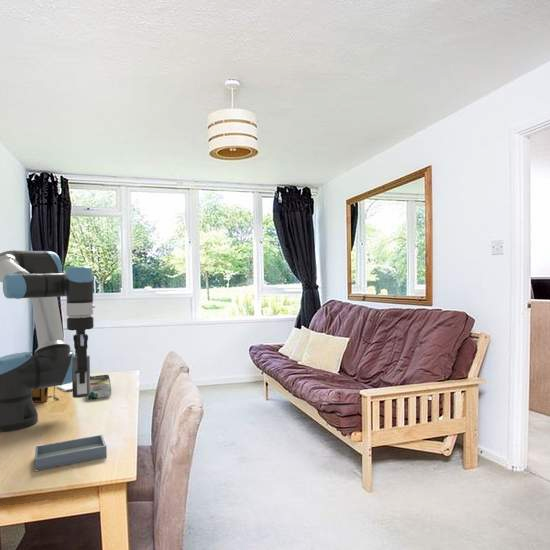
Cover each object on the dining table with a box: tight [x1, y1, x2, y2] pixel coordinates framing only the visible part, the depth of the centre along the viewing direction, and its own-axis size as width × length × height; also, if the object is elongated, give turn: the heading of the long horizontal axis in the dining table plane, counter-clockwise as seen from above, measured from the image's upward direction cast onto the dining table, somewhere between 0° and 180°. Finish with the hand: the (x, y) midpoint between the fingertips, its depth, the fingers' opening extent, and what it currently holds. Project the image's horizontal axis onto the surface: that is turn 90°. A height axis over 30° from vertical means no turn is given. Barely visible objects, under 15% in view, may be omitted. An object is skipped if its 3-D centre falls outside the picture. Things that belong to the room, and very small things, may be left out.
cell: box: [71, 355, 91, 399], centre depth 135 cm, size 5×5×13 cm
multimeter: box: [29, 351, 59, 403], centre depth 178 cm, size 15×10×20 cm
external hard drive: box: [55, 382, 73, 393], centre depth 196 cm, size 2×8×12 cm
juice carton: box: [85, 374, 112, 400], centre depth 187 cm, size 20×10×6 cm, turn 23°
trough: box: [34, 434, 108, 471], centre depth 119 cm, size 10×17×3 cm, turn 118°
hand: (81, 391), depth 135 cm, fingers closed on cell, 5 cm apart
